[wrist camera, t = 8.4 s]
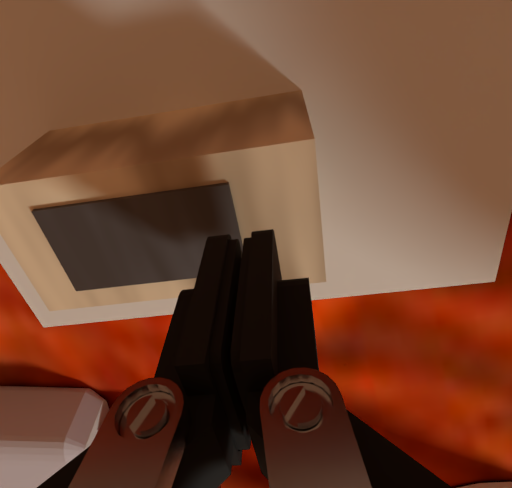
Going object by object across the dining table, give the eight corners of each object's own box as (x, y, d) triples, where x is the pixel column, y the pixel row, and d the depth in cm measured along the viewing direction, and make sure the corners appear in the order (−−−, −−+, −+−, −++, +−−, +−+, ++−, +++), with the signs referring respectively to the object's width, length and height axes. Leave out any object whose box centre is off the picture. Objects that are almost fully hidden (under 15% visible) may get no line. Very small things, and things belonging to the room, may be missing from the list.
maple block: (315, 140, 10) (-32, 191, 11) (326, 284, 13) (47, 314, 14) (301, 90, 15) (48, 130, 16) (312, 207, 17) (97, 234, 19)
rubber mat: (587, -170, 11) (603, -176, 10) (489, 273, 20) (494, 281, 20) (-163, -6, 14) (-180, -6, 13) (48, 319, 23) (43, 327, 22)
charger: (194, 454, 32) (8, 449, 32) (183, 383, 26) (-41, 376, 27) (184, 523, 28) (-29, 516, 28) (169, 455, 22) (-93, 447, 23)
